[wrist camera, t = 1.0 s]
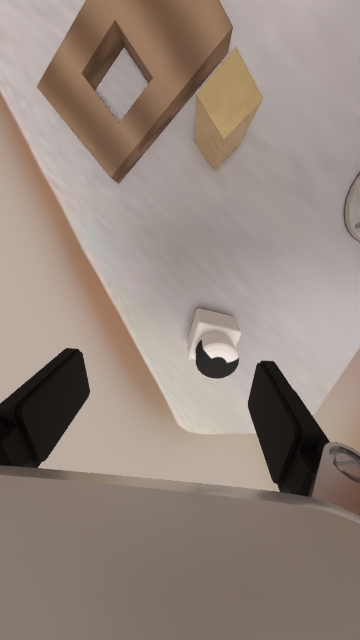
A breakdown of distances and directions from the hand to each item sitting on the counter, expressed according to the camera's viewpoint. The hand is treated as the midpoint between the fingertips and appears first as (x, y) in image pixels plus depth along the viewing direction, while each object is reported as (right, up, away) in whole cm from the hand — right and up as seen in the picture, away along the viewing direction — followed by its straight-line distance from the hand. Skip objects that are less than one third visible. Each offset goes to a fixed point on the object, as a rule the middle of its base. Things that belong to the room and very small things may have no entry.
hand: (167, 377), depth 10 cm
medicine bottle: (+6, +2, +27) cm, 28 cm away
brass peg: (+6, +28, +16) cm, 33 cm away
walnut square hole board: (-5, +34, +14) cm, 37 cm away
